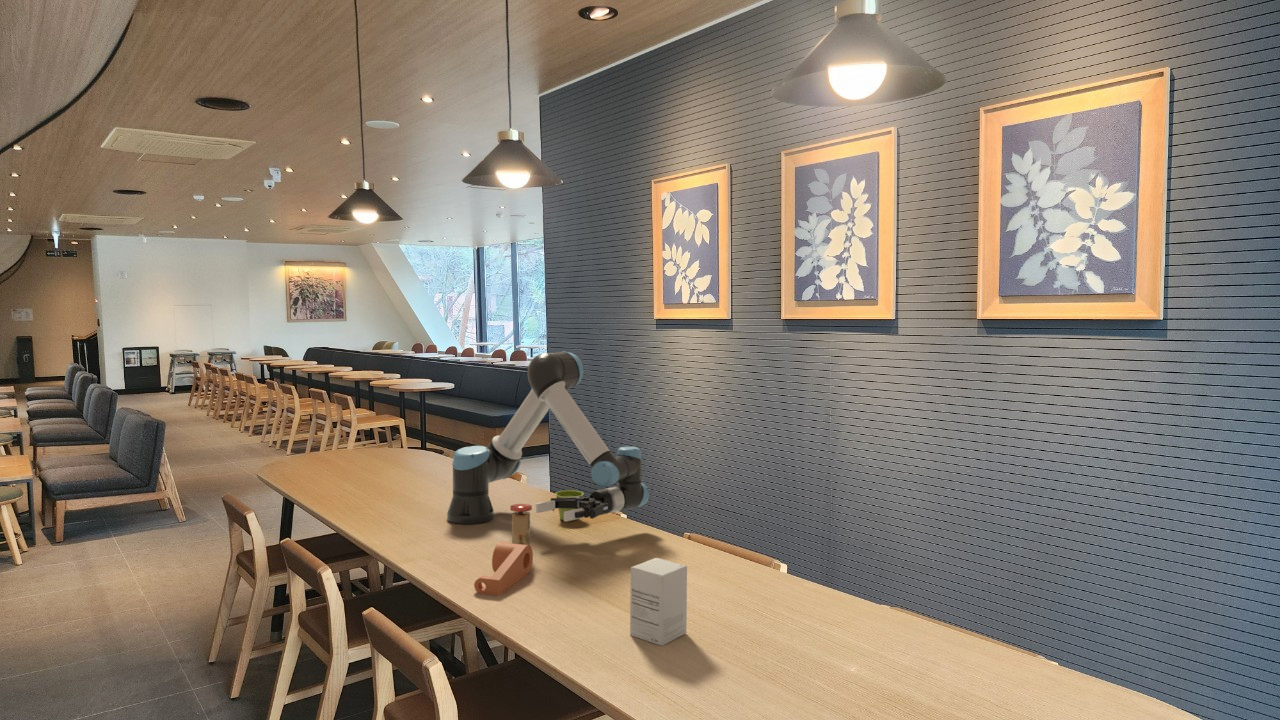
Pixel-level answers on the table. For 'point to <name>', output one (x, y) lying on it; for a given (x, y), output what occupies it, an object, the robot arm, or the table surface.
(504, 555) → the orange holed part
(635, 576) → the supplement box
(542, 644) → the table surface
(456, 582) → the table surface
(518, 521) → the valve
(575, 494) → the plant pot
